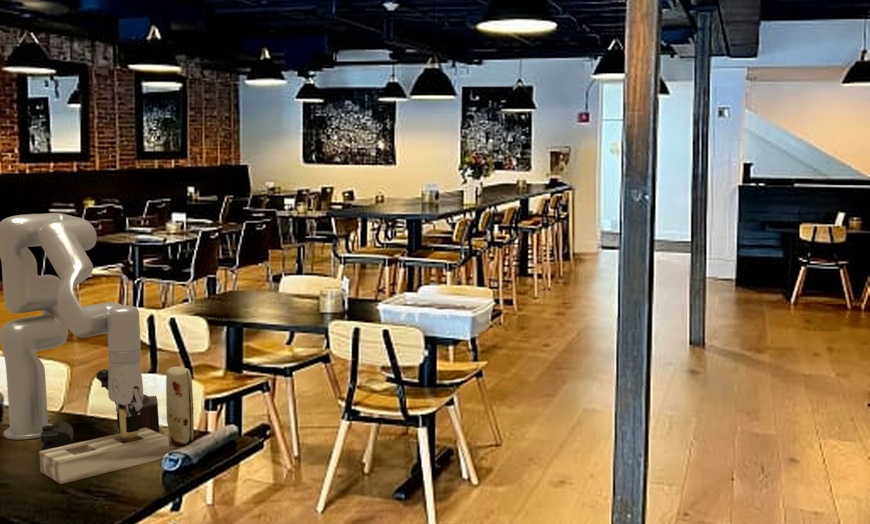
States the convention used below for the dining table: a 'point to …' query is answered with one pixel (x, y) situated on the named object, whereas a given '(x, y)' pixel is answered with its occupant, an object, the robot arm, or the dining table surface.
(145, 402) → the manual coffee grinder
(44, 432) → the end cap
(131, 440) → the pin
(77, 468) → the board
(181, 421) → the food model
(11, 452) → the dining table surface
